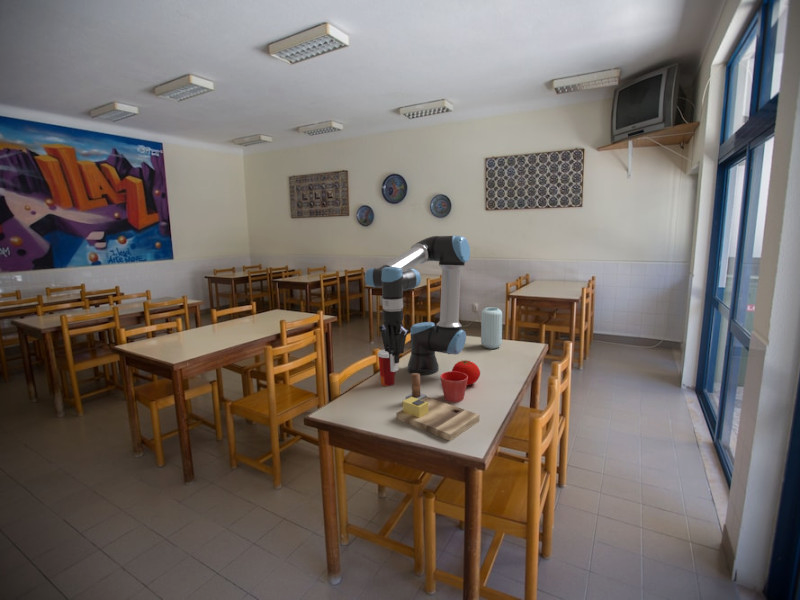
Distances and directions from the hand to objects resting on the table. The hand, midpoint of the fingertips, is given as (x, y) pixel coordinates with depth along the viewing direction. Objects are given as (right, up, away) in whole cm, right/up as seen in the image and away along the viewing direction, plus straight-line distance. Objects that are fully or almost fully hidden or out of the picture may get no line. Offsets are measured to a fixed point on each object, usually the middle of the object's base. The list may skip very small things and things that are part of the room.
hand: (394, 370), depth 152 cm
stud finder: (+8, -14, -4) cm, 17 cm away
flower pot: (+24, -14, +12) cm, 30 cm away
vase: (+54, 0, +80) cm, 96 cm away
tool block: (+9, -14, +10) cm, 20 cm away
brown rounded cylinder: (+9, -14, +10) cm, 19 cm away
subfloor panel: (+16, -17, -5) cm, 24 cm away
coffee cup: (-4, -11, +29) cm, 32 cm away
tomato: (+31, -11, +27) cm, 43 cm away
